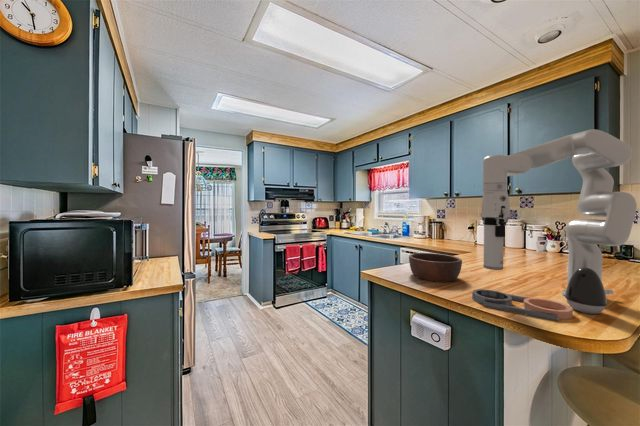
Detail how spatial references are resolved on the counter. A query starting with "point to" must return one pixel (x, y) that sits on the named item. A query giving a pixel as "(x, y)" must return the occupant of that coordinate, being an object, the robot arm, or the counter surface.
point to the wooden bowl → (435, 266)
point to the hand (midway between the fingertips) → (493, 235)
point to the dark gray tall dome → (586, 292)
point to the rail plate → (506, 303)
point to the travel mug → (492, 246)
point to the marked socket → (561, 309)
